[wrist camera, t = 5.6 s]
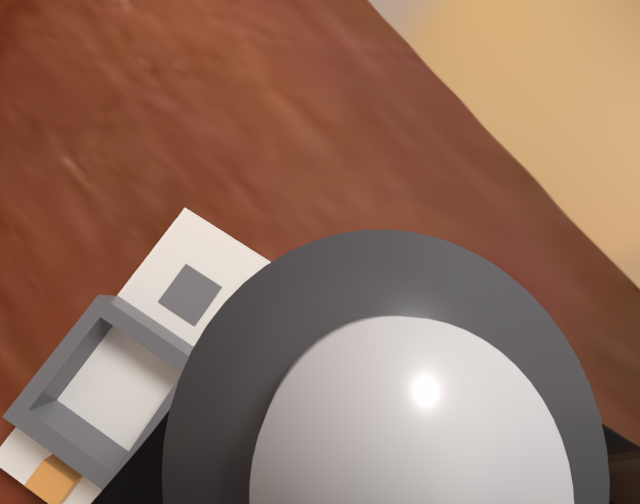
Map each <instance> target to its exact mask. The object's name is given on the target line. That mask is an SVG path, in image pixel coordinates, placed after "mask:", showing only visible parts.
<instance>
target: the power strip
mask: <svg viewBox="0 0 640 504" xmlns="http://www.w3.org/2000/svg"><path fill="white" fill-rule="evenodd" d="M269 263H271V262H270V261H268V260H267V259H265V258H264V257H262V256H260V255H259V254H257V253H256V252H254V251H253V250H251V249H249V248H248V247H246V246H245V245H243V244H242V243H240V242H238V241H237V240H235V239H234V238H232V237H231V236H229V235H227V234H226V233H224V232H223V231H221V230H220V229H218V228H216V227H215V226H213V225H212V224H210V223H208V222H207V221H205V220H204V219H202V218H201V217H199V216H197V215H196V214H194V213H193V212H191V211H190V210H188V209H186V208H184V209H183V211H182V212H181V213H180V215H179V216H178V217H177V219H176V220H175V221H174V222H173V224H172V225H171V226H170V228H169V229H168V230H167V232H166V233H165V234H164V235H163V237H162V238H161V239H160V241H159V242H158V243H157V244H156V246H155V247H154V248H153V250H152V251H151V252H150V254H149V255H148V256H147V257H146V259H145V260H144V261H143V263H142V264H141V265H140V267H139V268H138V269H137V270H136V272H135V273H134V274H133V276H132V277H131V278H130V280H129V281H128V282H127V283H126V285H125V286H124V287H123V289H122V290H121V291H120V292H119V294H118V295H117V296H109V295H98V296H97V297H96V298H95V300H94V301H93V302H92V303H91V305H90V306H89V307H88V308H87V310H86V311H85V312H84V314H83V315H82V316H81V317H80V319H79V320H78V321H77V322H76V324H75V325H74V326H73V328H72V329H71V330H70V331H69V333H68V334H67V335H66V336H65V338H64V339H63V340H62V342H61V343H60V344H59V345H58V347H57V348H56V349H55V350H54V352H53V353H52V354H51V356H50V357H49V358H48V359H47V361H46V362H45V363H44V365H43V366H42V367H41V368H40V370H39V371H38V372H37V373H36V375H35V376H34V377H33V379H32V380H31V381H30V382H29V384H28V385H27V386H26V387H25V389H24V390H23V391H22V393H21V394H20V395H19V396H18V398H17V399H16V400H15V401H14V403H13V404H12V405H11V407H10V408H9V409H8V410H7V412H6V413H5V414H4V415H3V418H5V419H6V420H7V421H9V422H10V423H11V424H13V425H14V426H15V429H14V430H13V431H12V433H11V434H10V435H9V436H8V438H7V439H6V440H5V442H4V443H3V444H2V445H1V447H0V468H2V469H3V470H4V471H6V472H7V473H8V474H10V475H11V476H12V477H14V478H15V479H16V480H18V481H19V482H20V483H22V484H23V485H24V486H25V487H27V488H28V489H29V490H31V491H32V492H33V493H35V494H36V495H37V496H39V497H40V498H41V499H43V500H44V501H45V502H47V503H48V504H91V503H92V502H93V501H94V499H95V498H96V497H97V496H98V495H99V494H100V492H101V491H102V490H103V489H104V488H105V487H106V486H107V484H108V483H109V482H110V481H111V480H112V479H113V477H114V476H115V475H116V474H117V473H118V472H119V471H120V469H121V468H122V467H123V466H124V465H125V464H126V462H127V461H128V460H129V459H130V458H131V457H132V456H133V454H134V453H135V452H136V451H137V450H138V448H139V447H140V446H141V445H142V444H143V442H144V441H145V440H146V439H147V438H148V436H149V435H150V434H151V433H152V432H153V430H154V429H155V428H156V426H157V425H158V424H159V422H160V421H161V420H162V419H163V417H164V416H165V415H166V413H167V412H168V411H169V409H170V407H171V404H172V400H173V397H174V394H175V391H176V387H177V384H178V381H179V378H180V376H181V374H182V371H183V369H184V367H185V365H186V362H187V360H188V358H189V356H190V353H191V351H192V349H193V348H194V346H195V344H196V343H197V341H198V339H199V338H200V336H201V334H202V333H203V331H204V329H205V327H206V326H207V324H208V323H209V322H210V320H211V319H212V318H213V317H214V315H215V314H216V313H217V311H218V310H219V309H220V308H221V306H222V305H223V304H224V302H225V301H226V300H227V299H228V298H229V297H230V296H231V295H232V294H233V293H234V292H235V291H236V290H237V289H238V288H239V287H240V286H241V285H242V284H243V283H244V282H245V281H247V280H248V279H249V278H250V277H252V276H253V275H254V274H256V273H257V272H258V271H259V270H261V269H262V268H263V267H264V266H266V265H267V264H269Z"/></svg>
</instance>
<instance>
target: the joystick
mask: <svg viewBox="0 0 640 504" xmlns="http://www.w3.org/2000/svg"><path fill="white" fill-rule="evenodd" d="M609 489H610V478H609V467H608V456H607V447H606V442H605V437H604V432H603V427H602V422H601V417H600V414H599V411H598V408H597V405H596V402H595V399H594V396H593V392H592V389H591V387H590V384H589V382H588V380H587V378H586V375H585V373H584V371H583V369H582V367H581V364H580V362H579V360H578V358H577V356H576V355H575V353H574V351H573V350H572V348H571V346H570V344H569V343H568V341H567V339H566V338H565V336H564V334H563V333H562V332H561V330H560V329H559V328H558V326H557V325H556V324H555V322H554V321H553V320H552V318H551V317H550V315H549V314H548V313H547V312H546V310H545V309H544V308H543V307H542V306H541V305H540V304H539V303H538V302H537V301H536V300H535V299H534V298H533V297H532V295H531V294H530V293H529V292H528V291H527V290H526V289H524V288H523V287H522V286H521V285H520V284H519V283H517V282H516V281H515V280H514V279H513V278H511V277H510V276H509V275H508V274H507V273H505V272H504V271H502V270H501V269H499V268H498V267H496V266H495V265H493V264H492V263H490V262H489V261H487V260H486V259H484V258H482V257H480V256H478V255H476V254H474V253H473V252H471V251H469V250H467V249H465V248H463V247H460V246H458V245H455V244H452V243H450V242H447V241H444V240H441V239H439V238H435V237H431V236H426V235H422V234H418V233H414V232H405V231H395V230H361V231H355V232H348V233H342V234H336V235H333V236H329V237H326V238H322V239H319V240H316V241H312V242H310V243H308V244H305V245H303V246H301V247H298V248H296V249H294V250H292V251H289V252H287V253H286V254H284V255H282V256H281V257H279V258H277V259H276V260H274V261H272V262H271V263H269V264H267V265H266V266H264V267H263V268H262V269H261V270H259V271H258V272H257V273H256V274H254V275H253V276H252V277H250V278H249V279H248V280H247V281H245V282H244V283H243V284H242V285H241V286H240V287H239V288H238V289H237V290H236V291H235V292H234V293H233V294H232V295H231V296H230V297H229V298H228V299H227V300H226V301H225V302H224V304H223V305H222V306H221V308H220V309H219V310H218V311H217V313H216V314H215V315H214V317H213V318H212V319H211V320H210V322H209V323H208V324H207V326H206V327H205V329H204V331H203V333H202V334H201V336H200V338H199V339H198V341H197V343H196V344H195V346H194V348H193V349H192V351H191V353H190V356H189V358H188V360H187V362H186V365H185V367H184V369H183V371H182V374H181V376H180V378H179V381H178V384H177V387H176V391H175V394H174V397H173V400H172V404H171V407H170V410H169V416H168V421H167V427H166V432H165V438H164V444H163V461H162V493H163V504H609Z"/></svg>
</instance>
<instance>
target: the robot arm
mask: <svg viewBox="0 0 640 504" xmlns="http://www.w3.org/2000/svg"><path fill="white" fill-rule="evenodd" d="M169 410H170V409H169ZM168 416H169V411H168V412H167V413H166V415H165V416H164V417H163V419H162V420H161V421H160V422H159V424H158V425H157V426H156V428H155V429H154V430H153V432H152V433H151V434H150V435H149V436H148V438H147V439H146V440H145V441H144V442H143V444H142V445H141V446H140V447H139V448H138V450H137V451H136V452H135V453H134V454H133V456H132V457H131V458H130V459H129V460H128V461H127V462H126V464H125V465H124V466H123V467H122V468H121V469H120V471H119V472H118V473H117V474H116V475H115V476H114V477H113V479H112V480H111V481H110V482H109V483H108V484H107V486H106V487H105V488H104V489H103V490H102V491H101V492H100V494H99V495H98V496H97V497H96V498H95V499H94V501H93V502H92V503H91V504H163V493H162V461H163V444H164V438H165V432H166V427H167V421H168ZM602 427H603V432H604V437H605V442H606V447H607V456H608V467H609V478H610V489H609V504H640V446H638V445H637V444H635V443H633V442H631V441H630V440H628V439H626V438H625V437H623V436H621V435H620V434H618V433H617V432H615V431H613V430H612V429H610V428H609V427H607V426H605V425H604V424H602Z"/></svg>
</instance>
